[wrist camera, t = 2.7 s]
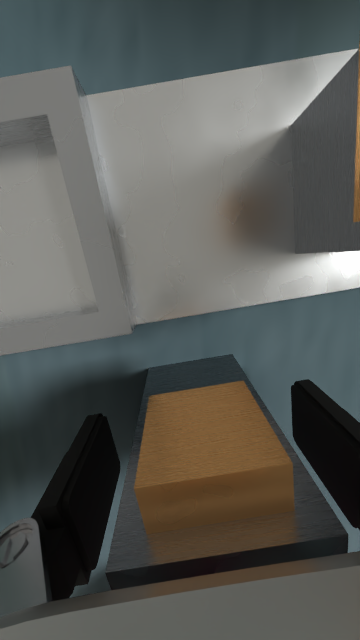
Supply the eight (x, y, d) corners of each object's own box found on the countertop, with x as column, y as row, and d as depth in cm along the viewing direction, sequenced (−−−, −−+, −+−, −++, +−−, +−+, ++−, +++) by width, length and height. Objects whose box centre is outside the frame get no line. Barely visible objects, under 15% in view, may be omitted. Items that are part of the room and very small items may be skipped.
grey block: (240, 424, 13) (342, 671, 5) (163, 437, 13) (152, 699, 5) (230, 332, 11) (350, 482, 4) (144, 346, 11) (87, 524, 4)
